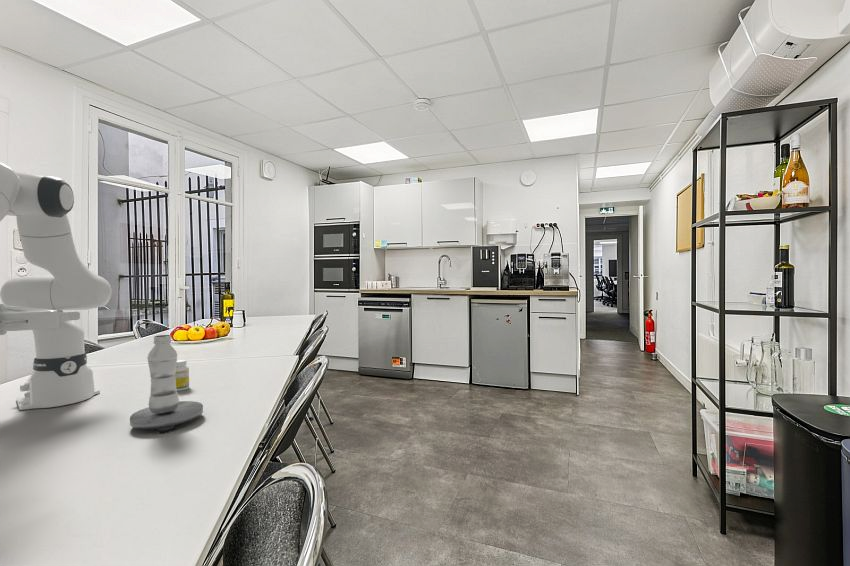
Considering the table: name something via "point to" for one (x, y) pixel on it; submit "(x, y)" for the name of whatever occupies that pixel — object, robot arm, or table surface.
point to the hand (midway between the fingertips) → (70, 314)
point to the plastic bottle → (163, 376)
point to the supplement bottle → (182, 375)
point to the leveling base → (166, 417)
